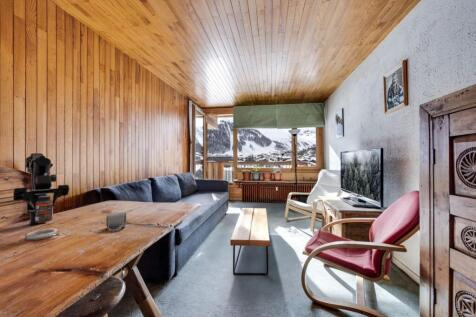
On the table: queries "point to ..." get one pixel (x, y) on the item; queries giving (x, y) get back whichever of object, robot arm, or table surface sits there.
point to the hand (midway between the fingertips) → (44, 206)
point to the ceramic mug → (116, 221)
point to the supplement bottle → (43, 209)
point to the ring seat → (41, 234)
